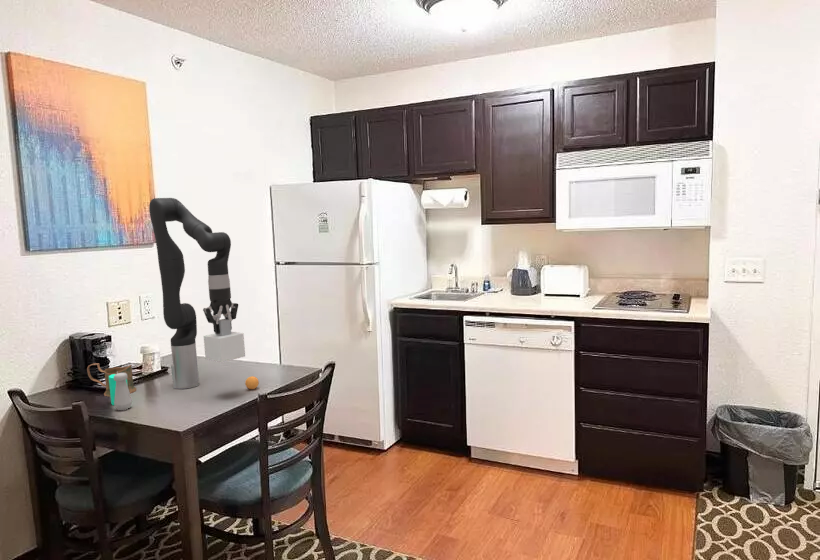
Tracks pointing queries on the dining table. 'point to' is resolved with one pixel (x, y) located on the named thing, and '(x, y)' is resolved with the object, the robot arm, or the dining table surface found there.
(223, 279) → the robot arm
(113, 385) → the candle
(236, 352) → the white block with knob
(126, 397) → the salt shaker
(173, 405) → the dining table surface
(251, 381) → the ball
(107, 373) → the mug
